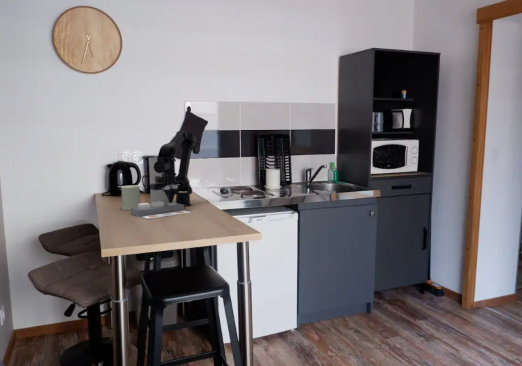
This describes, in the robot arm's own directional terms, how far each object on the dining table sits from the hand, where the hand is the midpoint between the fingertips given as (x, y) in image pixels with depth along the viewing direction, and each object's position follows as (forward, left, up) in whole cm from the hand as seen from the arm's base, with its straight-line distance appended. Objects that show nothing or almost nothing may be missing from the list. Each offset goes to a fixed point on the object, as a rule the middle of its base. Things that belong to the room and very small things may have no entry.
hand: (170, 202), depth 219 cm
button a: (+14, 0, -1) cm, 14 cm away
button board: (+7, 0, -4) cm, 8 cm away
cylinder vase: (-7, -23, -4) cm, 24 cm away
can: (+12, -20, -4) cm, 24 cm away
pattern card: (+7, +9, -4) cm, 12 cm away
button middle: (+7, 0, -1) cm, 7 cm away
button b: (0, 0, -3) cm, 3 cm away
